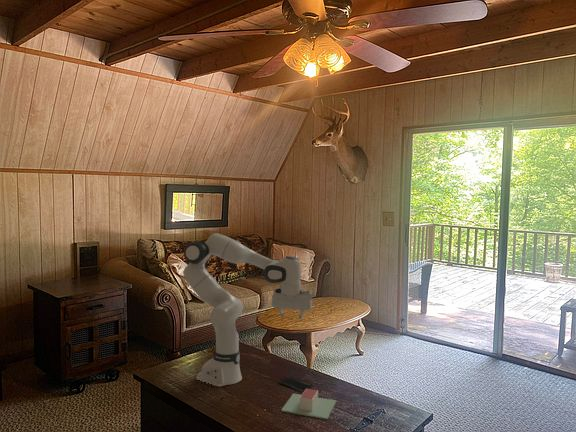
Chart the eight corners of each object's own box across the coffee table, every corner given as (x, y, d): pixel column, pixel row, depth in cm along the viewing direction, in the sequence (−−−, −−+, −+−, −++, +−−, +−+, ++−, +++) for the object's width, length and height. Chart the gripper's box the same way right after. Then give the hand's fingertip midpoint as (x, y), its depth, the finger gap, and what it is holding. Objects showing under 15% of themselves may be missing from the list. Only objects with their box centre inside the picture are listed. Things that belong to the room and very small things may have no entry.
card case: (306, 399, 191) (306, 388, 191) (318, 401, 189) (318, 390, 189) (299, 409, 182) (299, 397, 182) (312, 411, 181) (312, 399, 180)
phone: (288, 376, 215) (313, 384, 205) (288, 379, 215) (313, 387, 205) (278, 382, 208) (303, 390, 199) (278, 384, 208) (303, 393, 199)
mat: (281, 411, 182) (281, 409, 182) (293, 394, 197) (293, 393, 197) (327, 419, 175) (327, 418, 175) (336, 401, 190) (336, 400, 190)
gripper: (314, 290, 210) (313, 318, 211) (274, 286, 217) (274, 314, 218) (310, 292, 204) (310, 321, 205) (270, 289, 211) (270, 317, 212)
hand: (291, 317), depth 211 cm, fingers open, 8 cm apart
